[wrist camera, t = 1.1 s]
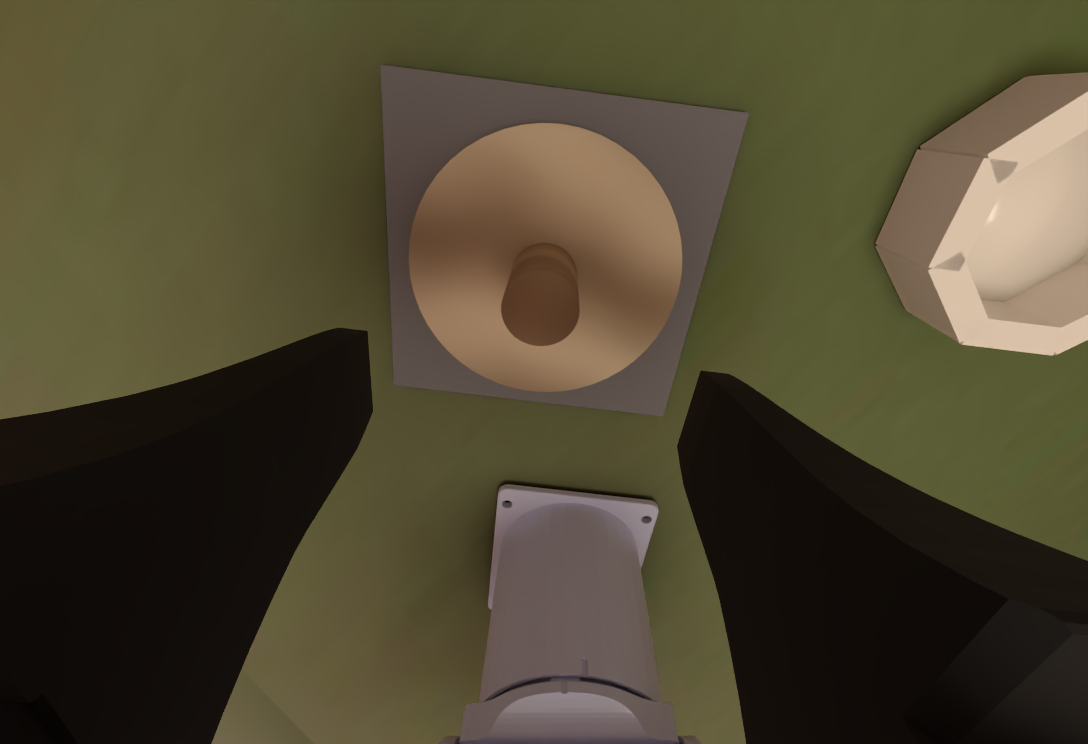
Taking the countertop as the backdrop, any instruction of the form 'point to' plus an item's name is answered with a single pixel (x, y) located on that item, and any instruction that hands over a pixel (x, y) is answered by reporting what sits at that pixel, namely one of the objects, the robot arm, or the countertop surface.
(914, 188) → the bowl
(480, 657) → the countertop surface
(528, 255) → the lid
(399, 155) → the mat
